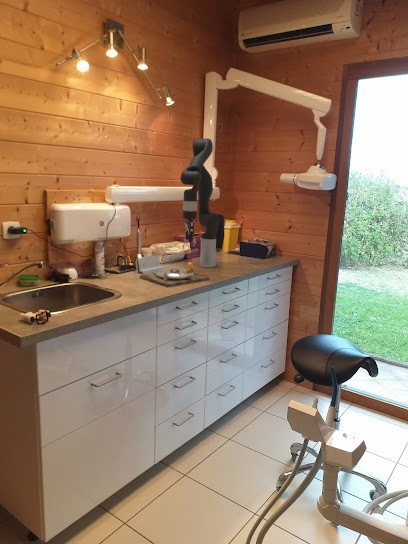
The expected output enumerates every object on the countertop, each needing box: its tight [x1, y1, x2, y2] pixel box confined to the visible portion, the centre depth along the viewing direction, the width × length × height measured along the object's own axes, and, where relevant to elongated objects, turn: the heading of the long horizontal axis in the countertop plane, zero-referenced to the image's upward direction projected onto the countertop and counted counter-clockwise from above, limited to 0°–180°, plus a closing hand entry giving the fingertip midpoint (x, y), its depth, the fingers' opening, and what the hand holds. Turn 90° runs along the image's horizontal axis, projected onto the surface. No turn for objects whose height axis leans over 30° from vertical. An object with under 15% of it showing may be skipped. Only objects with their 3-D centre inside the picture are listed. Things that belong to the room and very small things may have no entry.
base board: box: [139, 272, 210, 288], centre depth 224 cm, size 28×24×6 cm
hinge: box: [135, 255, 164, 275], centre depth 240 cm, size 17×5×10 cm, turn 141°
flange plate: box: [155, 261, 194, 279], centre depth 223 cm, size 20×22×6 cm
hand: (189, 240), depth 227 cm, fingers open, 7 cm apart
